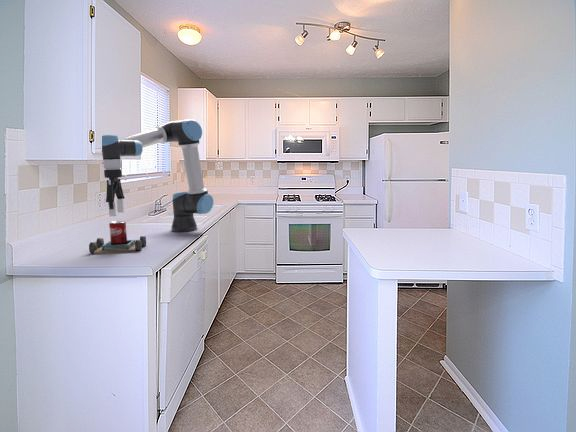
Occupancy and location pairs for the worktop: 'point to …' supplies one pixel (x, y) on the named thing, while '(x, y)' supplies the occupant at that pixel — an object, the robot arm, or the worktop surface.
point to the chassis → (116, 246)
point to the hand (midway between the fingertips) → (117, 214)
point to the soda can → (118, 233)
